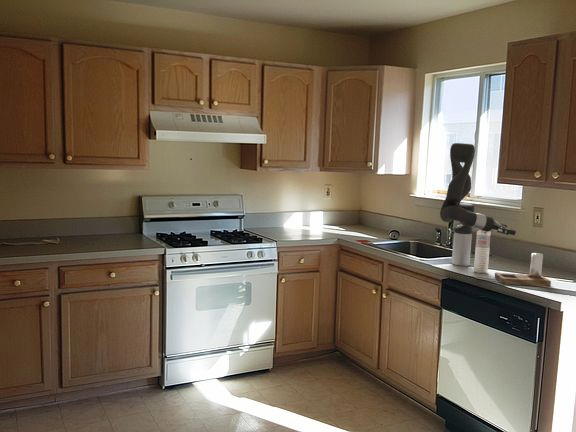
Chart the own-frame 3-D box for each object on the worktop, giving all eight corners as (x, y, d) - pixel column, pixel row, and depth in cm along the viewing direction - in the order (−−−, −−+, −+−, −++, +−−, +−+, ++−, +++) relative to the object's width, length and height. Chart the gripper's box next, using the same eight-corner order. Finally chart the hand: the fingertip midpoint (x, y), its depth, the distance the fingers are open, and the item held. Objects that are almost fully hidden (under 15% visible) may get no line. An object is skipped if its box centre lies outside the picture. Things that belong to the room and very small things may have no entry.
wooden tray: (494, 277, 270) (495, 272, 270) (540, 280, 268) (541, 274, 268) (501, 283, 258) (502, 278, 258) (550, 286, 256) (551, 280, 256)
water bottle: (470, 271, 281) (474, 223, 278) (477, 270, 286) (481, 222, 283) (483, 274, 276) (487, 224, 273) (489, 272, 281) (494, 224, 278)
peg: (527, 281, 265) (530, 252, 263) (538, 281, 265) (540, 253, 263) (531, 283, 260) (533, 254, 258) (541, 284, 260) (544, 255, 258)
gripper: (491, 219, 255) (521, 227, 258) (477, 210, 268) (506, 218, 271) (484, 234, 256) (515, 242, 260) (471, 224, 270) (500, 232, 273)
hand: (510, 230), depth 266 cm, fingers open, 8 cm apart
